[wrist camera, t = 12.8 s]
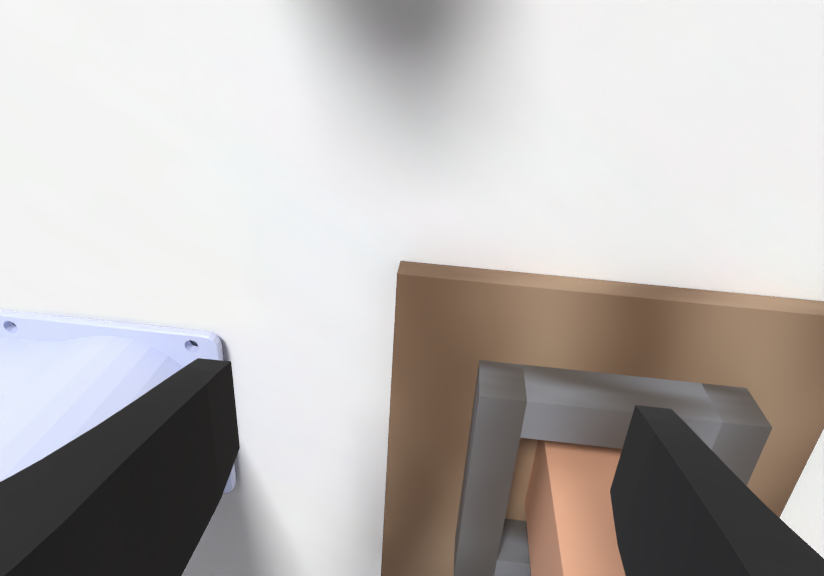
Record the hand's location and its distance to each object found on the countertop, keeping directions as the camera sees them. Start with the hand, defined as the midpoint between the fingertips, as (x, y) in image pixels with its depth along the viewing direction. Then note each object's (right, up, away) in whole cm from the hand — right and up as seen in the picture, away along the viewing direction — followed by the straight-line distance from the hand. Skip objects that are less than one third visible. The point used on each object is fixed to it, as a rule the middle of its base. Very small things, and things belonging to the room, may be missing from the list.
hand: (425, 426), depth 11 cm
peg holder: (+6, -4, +13) cm, 15 cm away
